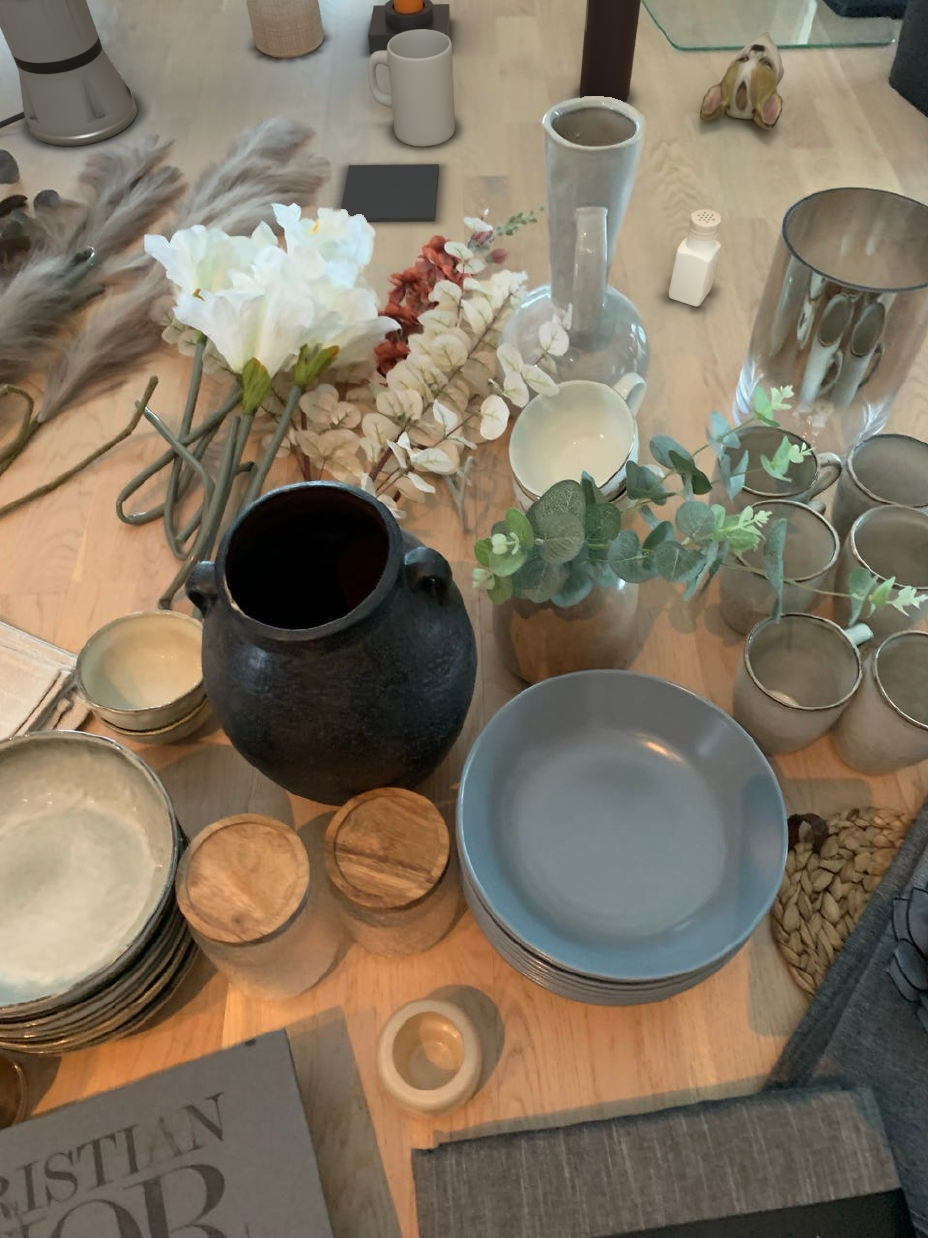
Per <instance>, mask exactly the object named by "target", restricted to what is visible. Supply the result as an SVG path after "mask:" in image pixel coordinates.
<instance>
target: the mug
mask: <svg viewBox="0 0 928 1238" xmlns="http://www.w3.org/2000/svg"><path fill="white" fill-rule="evenodd" d="M378 65H383V66H386V67H387V68H388V76H389V84H390V93H388V92H387V93H386V92H383V91H382V90H381V88H380V87H379V83H378V80H377V72H376V71H377V70H376V69H377V66H378ZM367 80H368V87H369V90H370V93H371V95H372V98H373V99H374V100H375V103H378V104H380V105H381V106H383V107H387V108H391V109H392V111H391V112H392V120H393V121H392V123H393V131H394V135H395V136H396V138H397V139H398V140H399V141H400V142H402V143H403V144H405V145H409V146H412V147H421V148H424V147H426V148H427V147H433V146H438V145H440V144H444V143H445V142H447V141H448V140H450V139H451V138H452V137H453V136H454V134H455V131H456V113H455V110H456V109H455V95H454V94H455V93H454V92H455V90H454V87H455V86H454V63H453V45H452V40H451V38H450V36H449V37H448V36H446V35H445V34H443V33H441V32H438V31H434V30H427V29H418V30H410V31H406V32H402V33H400V34H398V35H396V36H394V37H393V38H392V39H391V40H390V41H389V42H388V45H387V51H386V50H383V51H376V52H374V53H373V54H370V57H369V59H368V62H367Z"/></svg>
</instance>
